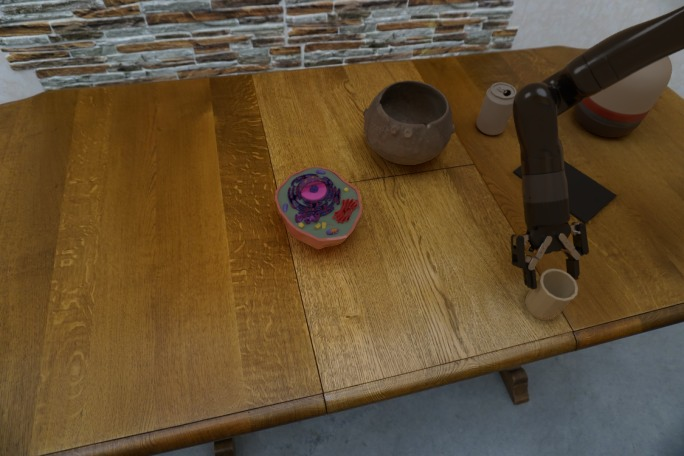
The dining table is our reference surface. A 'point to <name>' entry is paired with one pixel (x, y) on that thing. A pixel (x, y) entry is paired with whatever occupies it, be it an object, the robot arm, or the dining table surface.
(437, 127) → the clay pot
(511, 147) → the dining table surface
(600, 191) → the mat
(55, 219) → the dining table surface
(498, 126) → the can
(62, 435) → the dining table surface
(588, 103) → the vase
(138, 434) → the dining table surface
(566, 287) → the cup
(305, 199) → the cell model
